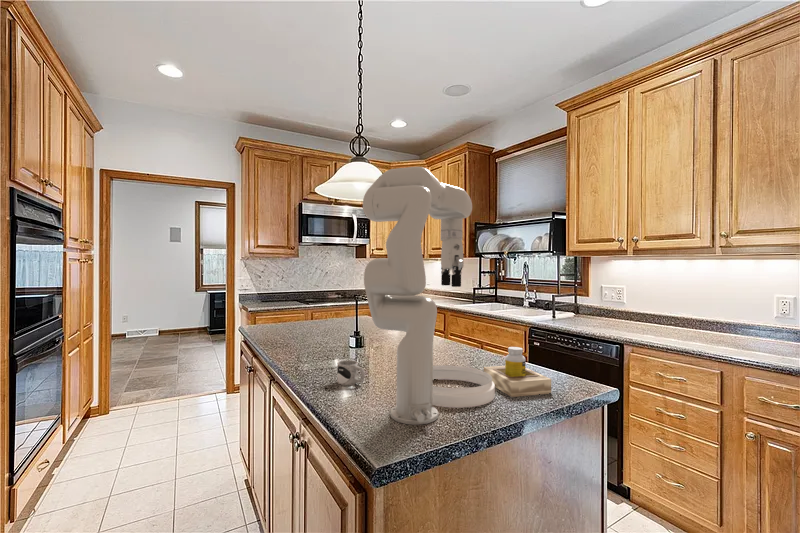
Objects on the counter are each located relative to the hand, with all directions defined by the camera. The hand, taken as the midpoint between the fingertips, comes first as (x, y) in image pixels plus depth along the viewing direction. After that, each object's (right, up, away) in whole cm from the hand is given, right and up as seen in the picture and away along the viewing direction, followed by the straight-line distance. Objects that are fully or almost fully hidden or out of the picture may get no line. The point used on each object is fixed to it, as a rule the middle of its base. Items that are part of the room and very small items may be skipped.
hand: (450, 285), depth 134 cm
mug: (-34, -33, -4) cm, 47 cm away
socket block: (+21, -33, -6) cm, 39 cm away
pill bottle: (+21, -32, -6) cm, 38 cm away
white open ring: (-2, -33, -12) cm, 35 cm away
